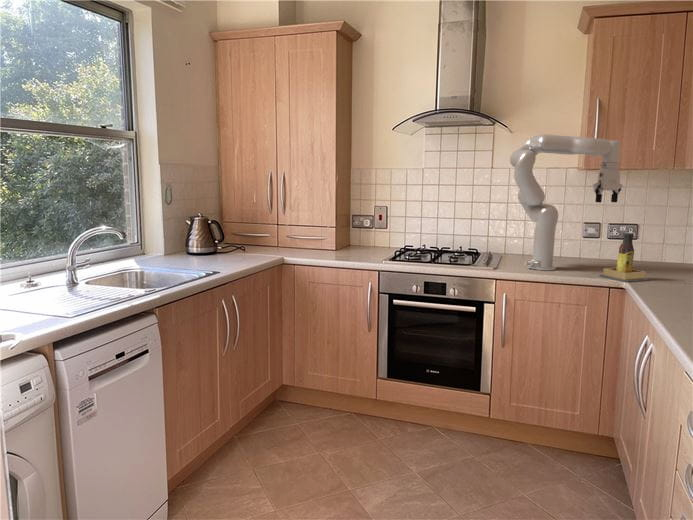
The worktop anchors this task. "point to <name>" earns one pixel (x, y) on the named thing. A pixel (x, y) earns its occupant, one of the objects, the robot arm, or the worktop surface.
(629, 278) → the yellow square tray
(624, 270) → the sauce bottle
